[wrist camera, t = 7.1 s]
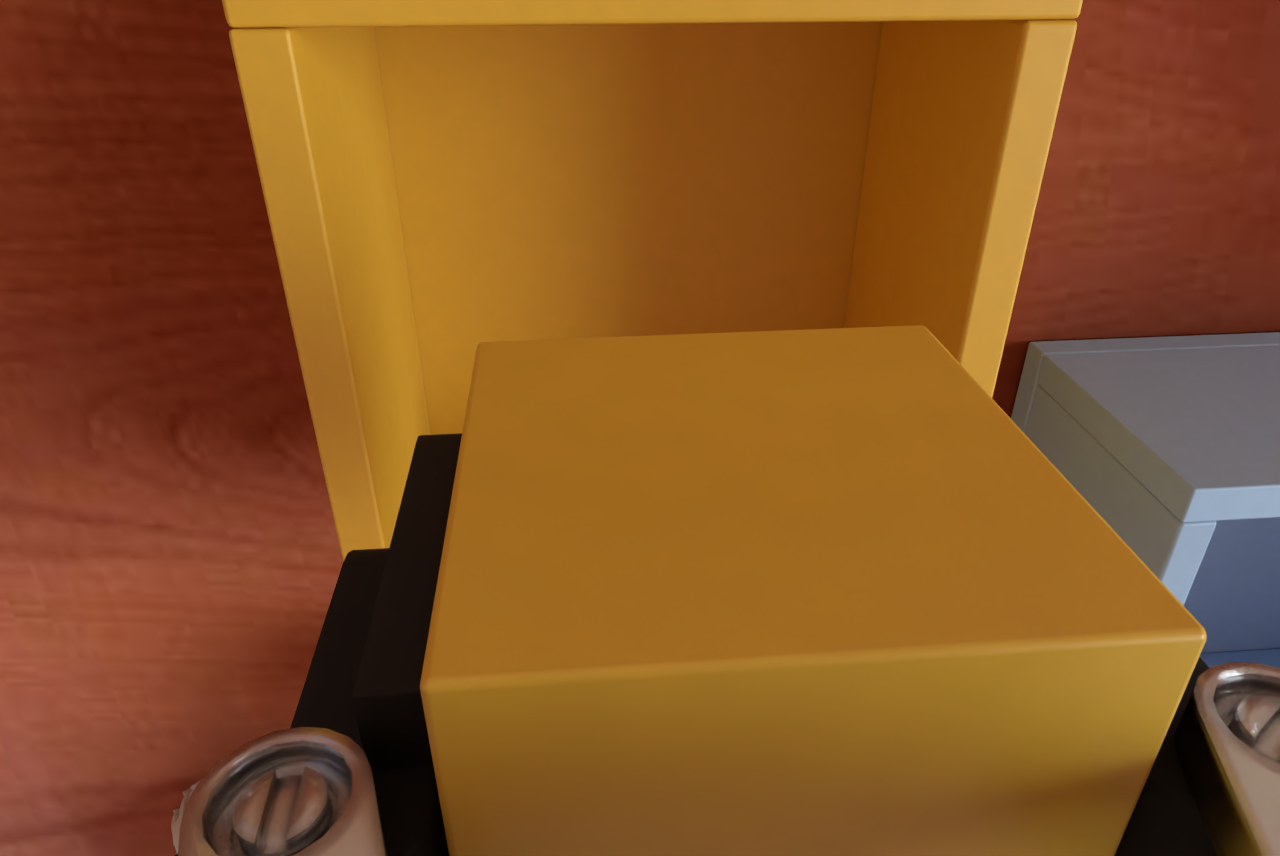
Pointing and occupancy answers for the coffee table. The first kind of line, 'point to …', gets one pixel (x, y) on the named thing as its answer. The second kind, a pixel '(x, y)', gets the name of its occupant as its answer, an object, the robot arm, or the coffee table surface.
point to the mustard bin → (629, 185)
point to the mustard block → (782, 611)
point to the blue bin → (1176, 466)
